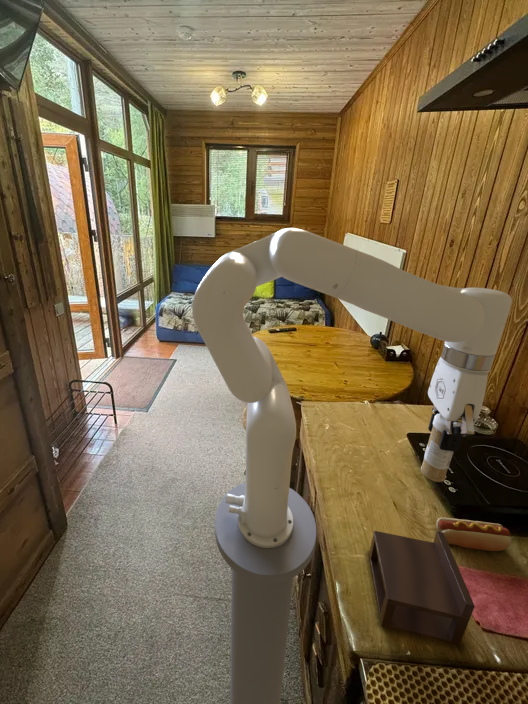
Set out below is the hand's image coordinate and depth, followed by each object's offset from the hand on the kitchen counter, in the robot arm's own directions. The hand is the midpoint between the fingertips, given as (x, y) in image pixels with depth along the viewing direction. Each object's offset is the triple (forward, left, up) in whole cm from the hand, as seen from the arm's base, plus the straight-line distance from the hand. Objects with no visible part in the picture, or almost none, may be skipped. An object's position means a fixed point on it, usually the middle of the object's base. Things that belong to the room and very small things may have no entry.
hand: (442, 439), depth 61 cm
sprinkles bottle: (0, 0, -9) cm, 9 cm away
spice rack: (-6, -14, -25) cm, 29 cm away
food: (+10, 0, -25) cm, 27 cm away
